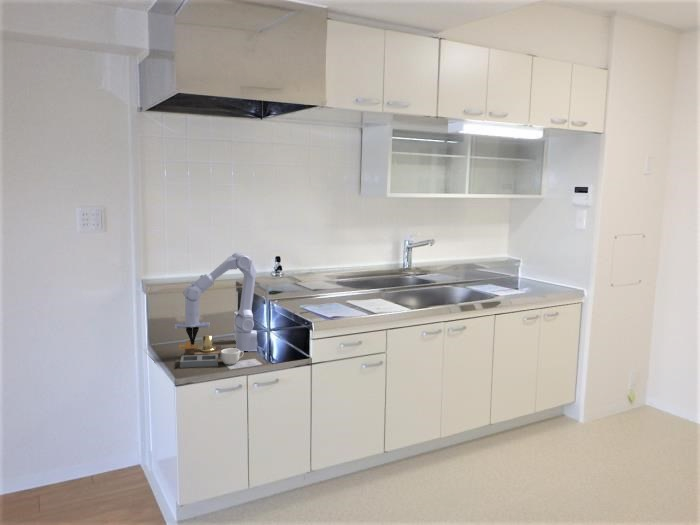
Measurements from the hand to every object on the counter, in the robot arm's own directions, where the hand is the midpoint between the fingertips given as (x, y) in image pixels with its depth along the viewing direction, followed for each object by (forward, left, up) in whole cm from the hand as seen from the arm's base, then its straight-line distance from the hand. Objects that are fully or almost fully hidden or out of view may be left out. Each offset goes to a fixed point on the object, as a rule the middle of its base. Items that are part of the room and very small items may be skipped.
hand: (192, 344), depth 250 cm
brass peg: (-6, 0, -6) cm, 8 cm away
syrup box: (-21, -20, -6) cm, 30 cm away
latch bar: (+2, 0, -2) cm, 2 cm away
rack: (-3, +11, -5) cm, 13 cm away
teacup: (-17, +11, -6) cm, 21 cm away
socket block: (-4, 0, -5) cm, 7 cm away
